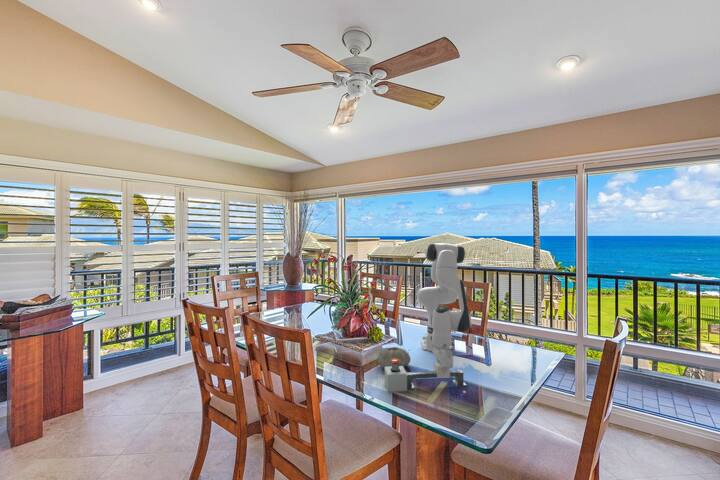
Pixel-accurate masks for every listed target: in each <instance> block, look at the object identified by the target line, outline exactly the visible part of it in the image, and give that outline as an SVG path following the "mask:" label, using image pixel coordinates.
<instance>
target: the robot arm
mask: <svg viewBox="0 0 720 480" xmlns="http://www.w3.org/2000/svg"><path fill="white" fill-rule="evenodd" d="M424 250H425V251H424V255H425V258H426V260H427V261H429V262H432V263H431V269H430V279H431V281H432V282H433V283H435V284H437V285H436V286H426V287H422V288H419V289H418V290H417V292H416V299H417V302H418V303H419V304H420V305H422V306H423V307H424V309H425V310H426V314H427V320H428V321H427V322H428V324H427V328H426V329H427V330H426V332H425V333H424V335H423V336H422V340H421V341H420V343H421V348H422V350H423V351H429V352H432V354H433V355H434V357H435V358H436V362H441V363H442V365H443V368H442V372H443V373H447V368H450V369H452V368H454V367H453V366H454V358H453V356H454V355H453V351H452V349H453V346H452V333H451V331H454V332H455V331H456V332H460V333H466V332H468V331H469V330H471V328H472V318H471V314H470V312H469V305H468V300H467V293H466V289H465V284H464V280H462V279H461V278H459V275H458V264H461V263H463V262H464V260H465V259H466V250H465V247H464V246H463V245H460V244H452V243H440V242H439V243H435V242H431V243H428V244H427V245H426V248H425V249H424ZM457 299H458V304H459V310H451V309H450V308H449V306H445V305H449V304H452V303H455V302H456V301H457Z"/></svg>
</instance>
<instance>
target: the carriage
mask: <svg viewBox="0 0 720 480" xmlns="http://www.w3.org/2000/svg"><path fill="white" fill-rule="evenodd" d="M433 365H434V368H433V369H434V371H433V372H436V373H437V379H442V378H443V379H446V378H448V379H449V378H451V377H450V371H451V368H447V373H443V372H442V368H443V365H442V363H441V362H437V361H436V362H434V363H433Z"/></svg>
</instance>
